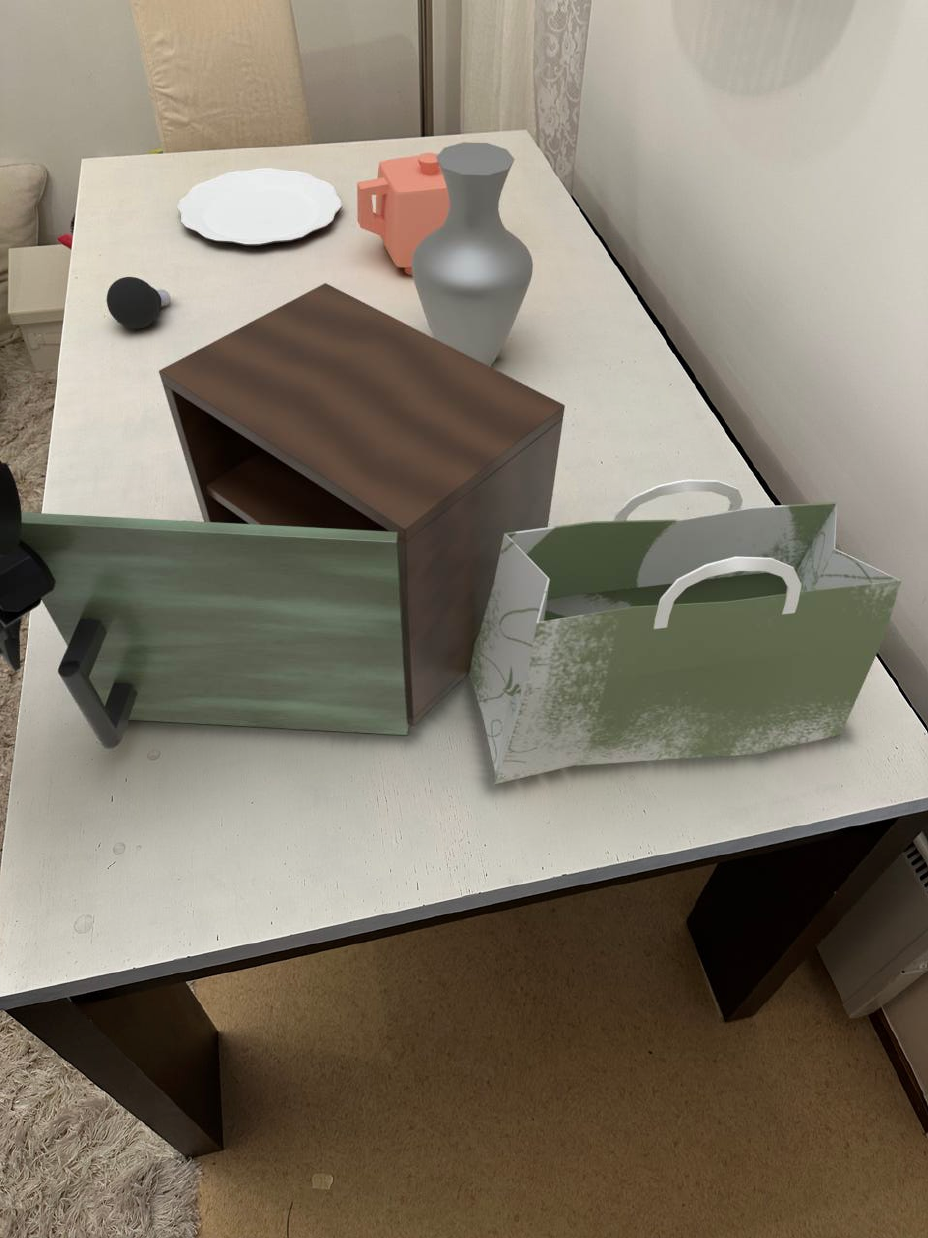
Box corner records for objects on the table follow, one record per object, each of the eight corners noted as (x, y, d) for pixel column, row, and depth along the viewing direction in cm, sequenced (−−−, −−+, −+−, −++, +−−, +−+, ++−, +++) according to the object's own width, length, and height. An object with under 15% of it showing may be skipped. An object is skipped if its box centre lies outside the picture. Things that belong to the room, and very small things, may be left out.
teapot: (488, 226, 133) (493, 129, 122) (516, 265, 125) (523, 166, 114) (352, 244, 128) (344, 145, 117) (372, 286, 121) (365, 184, 110)
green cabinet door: (401, 790, 70) (387, 604, 52) (88, 772, 71) (-38, 581, 52) (408, 725, 74) (398, 531, 56) (111, 709, 75) (2, 510, 56)
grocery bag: (780, 623, 84) (873, 436, 66) (842, 743, 75) (970, 566, 57) (462, 662, 80) (469, 475, 62) (489, 794, 71) (507, 621, 53)
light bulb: (181, 271, 114) (130, 278, 106) (190, 321, 117) (141, 332, 108) (143, 272, 116) (90, 279, 108) (153, 321, 119) (102, 331, 111)
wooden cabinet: (413, 726, 74) (405, 529, 56) (220, 578, 85) (158, 370, 66) (536, 609, 83) (565, 404, 64) (348, 488, 94) (325, 282, 75)
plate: (217, 172, 143) (215, 160, 141) (360, 189, 140) (359, 177, 139) (154, 243, 127) (150, 230, 126) (313, 263, 124) (312, 251, 123)
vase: (545, 353, 111) (567, 152, 92) (482, 406, 104) (492, 200, 84) (457, 316, 116) (461, 119, 97) (391, 364, 109) (381, 161, 89)
